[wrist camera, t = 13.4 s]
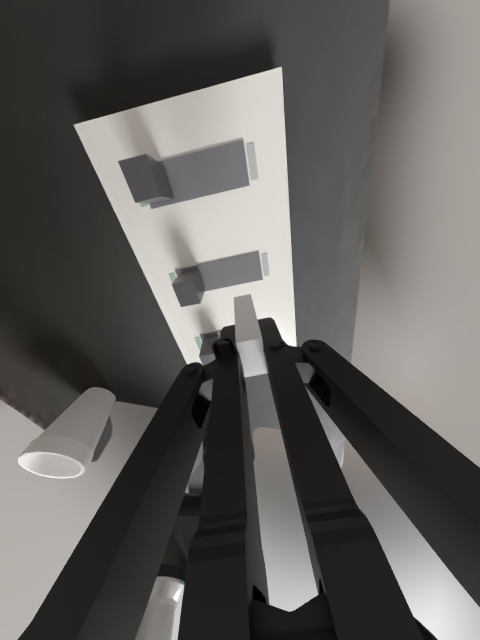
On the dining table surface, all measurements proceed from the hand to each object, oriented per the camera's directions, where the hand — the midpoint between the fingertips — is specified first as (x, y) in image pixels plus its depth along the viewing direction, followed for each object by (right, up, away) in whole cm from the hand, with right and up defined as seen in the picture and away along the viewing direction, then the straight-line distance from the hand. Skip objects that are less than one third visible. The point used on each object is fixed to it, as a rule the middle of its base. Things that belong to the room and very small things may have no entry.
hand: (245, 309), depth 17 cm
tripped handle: (-7, +4, +9) cm, 12 cm away
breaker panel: (-3, +7, +11) cm, 14 cm away
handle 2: (-5, -5, +15) cm, 16 cm away
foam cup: (-31, -18, +25) cm, 44 cm away
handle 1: (-9, +14, +3) cm, 17 cm away
